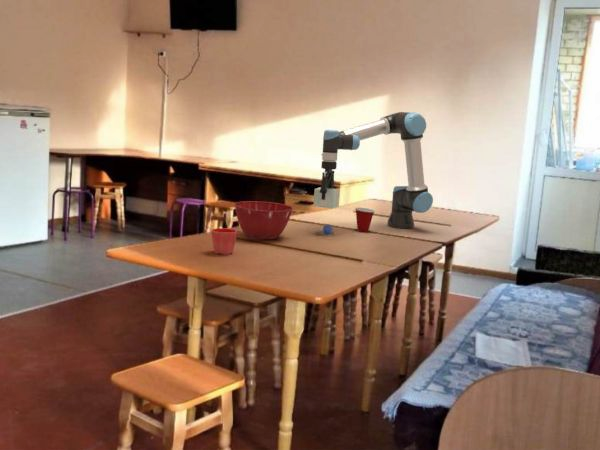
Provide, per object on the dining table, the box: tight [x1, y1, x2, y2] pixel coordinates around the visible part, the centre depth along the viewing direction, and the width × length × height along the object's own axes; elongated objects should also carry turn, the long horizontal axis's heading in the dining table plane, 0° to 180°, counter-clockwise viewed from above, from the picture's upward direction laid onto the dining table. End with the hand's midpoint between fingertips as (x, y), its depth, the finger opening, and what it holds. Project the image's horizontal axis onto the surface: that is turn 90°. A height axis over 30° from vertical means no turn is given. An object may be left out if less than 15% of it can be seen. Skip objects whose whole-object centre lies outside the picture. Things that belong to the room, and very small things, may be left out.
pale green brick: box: [313, 186, 340, 209], centre depth 348 cm, size 10×10×9 cm
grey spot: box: [313, 230, 334, 236], centre depth 351 cm, size 10×10×1 cm
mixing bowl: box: [233, 200, 294, 240], centre depth 330 cm, size 28×28×16 cm
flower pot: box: [210, 227, 238, 255], centre depth 290 cm, size 11×11×10 cm
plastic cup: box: [354, 206, 376, 233], centre depth 365 cm, size 11×11×12 cm
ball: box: [322, 224, 334, 234], centre depth 350 cm, size 5×5×5 cm
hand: (326, 204), depth 348 cm, fingers closed on pale green brick, 10 cm apart
